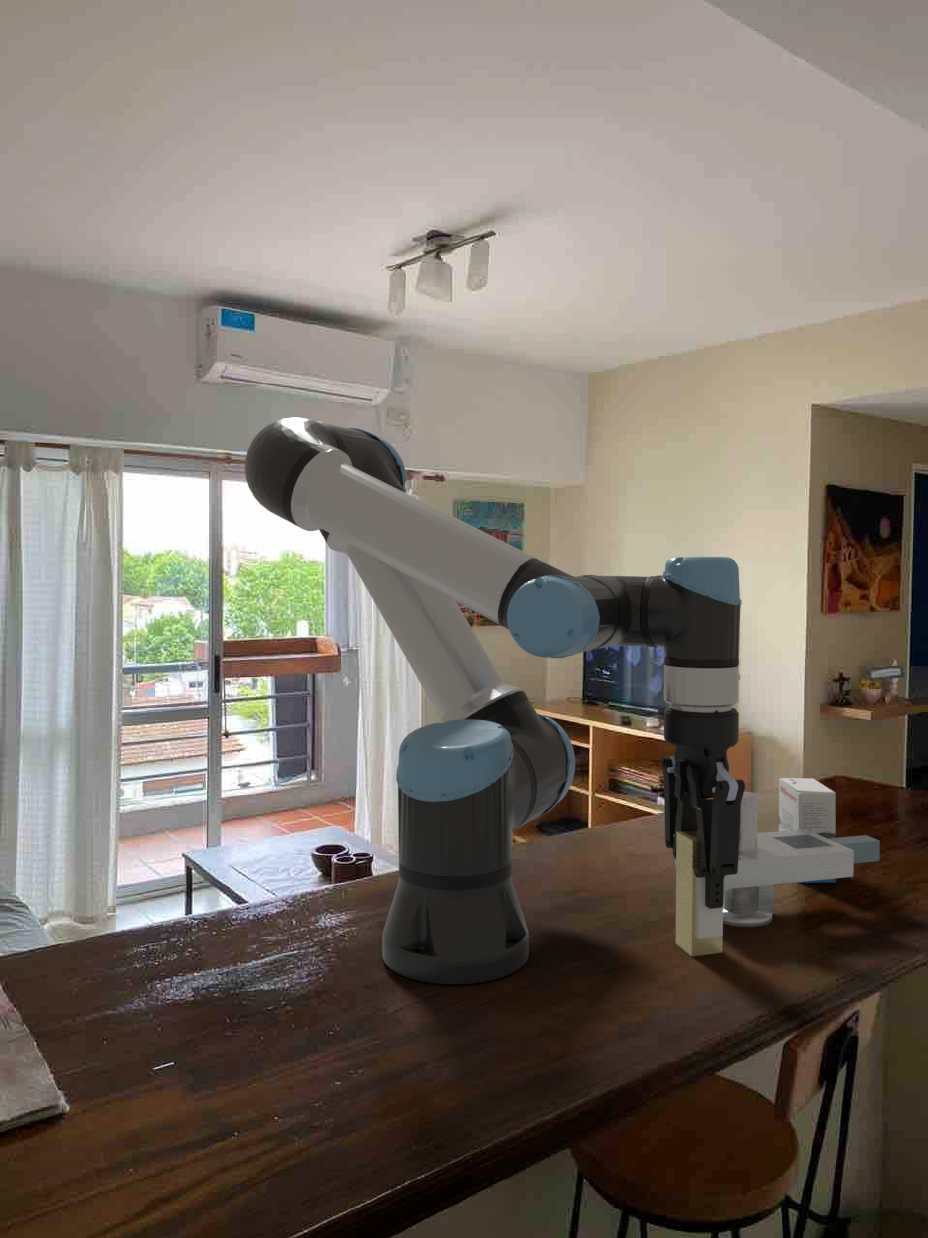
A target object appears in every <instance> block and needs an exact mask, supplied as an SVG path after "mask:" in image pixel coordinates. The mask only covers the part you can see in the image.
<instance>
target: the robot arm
mask: <svg viewBox="0 0 928 1238" xmlns="http://www.w3.org/2000/svg"><path fill="white" fill-rule="evenodd" d="M244 474H245V479H246V483H247V486H248V489H249V491H250V492H251V493H252V494H251V495H252V496H253V497H254V499H255V500H256V501H257V502H258V503H259V505H260V506H261V507H263V508H265V510H267V511H268V512H270V513H272V514H274V515H275V516H276V517H279V518H281V519H283V520H285V521H287V522H288V523H291V524H293V525H294V526H296V527H298V528H300V529H302V530H304V531H307V532H316V531H319V533H320V534H321V536H322V537H323V539H324V541H325V543H326V544H327V546H328V548H329V549H330V550H331V551H333V552H339V553H342V554H345V555H347V557H348V558H349V560H350V561H351V564H352V565H353V567H354V569H355V570H356V573H357V574H358V576H359V578H360V579H361V581H362V583H363V584H364V586H365V589H366V590H367V591H368V593H369V596H370V597H371V598H372V600H373V602H374V604H375V606H376V608H377V609H378V610H379V613H380V615H381V616H382V618H383V619H384V622H385V624H386V625H387V627H388V629H389V631H390V632H391V634H392V636H393V638H394V639H395V641H396V643H397V645H398V646H399V648H400V650H401V651H402V653H403V655H404V657H405V659H406V661H407V662H408V664H409V666H410V667H411V670H412V671H413V673H414V674H415V676H416V678H417V681H418V682H419V683H420V685H421V687H422V688H423V690H424V692H425V694H426V695H427V698H428V699H429V701H430V702H431V705H432V706H433V708H434V710H435V712H436V713H437V715H438V717H439V719H440V722H434V723H430V724H427V725H424V726H421V727H418V728H416V729H415V730H413V731H411V732H409V733H408V734H407V735H406V736H405V737H404V739H402V741H401V743H400V746H399V748H398V749H399V750H398V761H397V763H398V765H397V769H396V773H395V779H396V783H397V815H398V816H397V817H398V818H397V821H398V822H397V823H398V824H397V825H398V833H397V834H398V835H397V836H398V881H397V882H398V883H397V885H396V889H395V893H394V896H393V898H392V902H391V906H390V908H389V912H388V914H387V918H386V921H385V924H384V927H383V931H382V937H381V942H382V943H381V944H382V947H381V949H382V953H381V954H382V959H383V963H384V964H385V965H386V966H387V967H388V968H389V969H390V970H392V971H393V972H395V973H396V974H399V975H401V976H403V977H406V978H409V979H412V980H414V981H415V980H416V981H420V982H425V983H431V984H440V985H468V984H469V985H470V984H471V985H472V984H478V983H484V982H490V981H493V980H494V981H495V980H497V979H501V978H504V977H506V976H508V975H511V974H513V973H515V972H517V971H518V970H519V969H521V968H522V967H523V966H525V964H526V963H527V962H528V959H529V957H530V956H529V954H530V935H529V934H530V933H529V930H528V927H527V924H526V920H525V917H524V914H523V911H522V908H521V904H520V902H519V898H518V896H517V895H518V894H517V892H516V890H515V889H516V888H515V885H514V882H513V874H512V873H513V872H512V871H513V869H512V868H513V866H512V864H513V863H512V860H513V857H512V855H513V854H512V853H513V852H512V851H513V849H512V848H513V845H512V844H513V842H512V841H513V838H512V837H513V832H514V831H515V830H516V829H519V828H521V827H522V826H524V825H526V824H527V823H529V822H531V821H533V820H536V819H539V818H541V817H542V816H544V815H545V814H548V813H549V812H551V811H552V810H553V809H554V808H555V807H556V805H557V804H558V803H560V802H561V801H562V800H563V799H564V798H565V796H566V795H567V793H568V792H569V790H570V788H571V785H572V783H573V780H574V775H575V773H576V772H575V771H576V756H575V751H574V747H573V744H572V742H571V739H570V737H569V735H568V734H567V733H566V731H565V729H564V728H563V727H562V726H561V725H560V724H559V723H558V722H557V721H555V720H554V719H552V718H550V717H548V716H545V715H543V714H540V713H538V712H537V711H536V709H535V707H534V706H533V704H532V702H531V701H530V699H529V697H528V696H527V694H526V692H525V690H523V688H522V687H517V686H515V685H511V684H507V683H505V682H504V681H503V679H502V677H501V676H500V674H499V671H498V670H497V669H496V667H495V665H494V663H493V662H492V660H491V659H490V657H489V655H488V653H487V651H486V650H485V648H484V647H483V645H482V644H481V641H480V640H479V638H478V637H477V635H476V633H475V632H474V629H473V628H472V627H471V625H470V623H469V621H468V620H467V618H466V617H465V615H464V613H463V611H462V610H461V608H460V606H459V605H458V604H461V605H462V606H464V607H466V608H468V609H469V610H471V611H473V612H475V613H477V614H479V615H481V616H482V617H484V618H486V619H488V620H490V621H492V622H494V623H496V624H497V625H500V626H501V627H503V628H505V629H507V630H508V632H510V635H511V636H512V639H513V640H514V641H515V642H516V644H517V645H518V647H520V648H521V649H522V650H524V651H525V652H526V653H528V654H530V655H532V656H534V657H537V658H538V657H539V658H549V659H564V658H568V657H573V656H576V655H578V654H580V653H585V652H589V651H595V650H598V649H603V648H607V647H649V648H658V647H660V648H663V649H664V650H663V652H664V664H663V701H664V702H665V703H666V704H669V705H668V706H666V708H665V709H663V739H664V741H665V743H667V744H669V745H671V746H674V747H675V748H674V750H673V751H674V753H673V755H672V756H661V759H660V764H661V765H660V766H661V770H662V775H663V776H662V777H663V796H664V797H663V798H664V799H663V801H664V802H663V805H664V844H665V847H666V848H667V849H672V856H673V859H674V858H675V859H676V838H677V832H678V831H691V830H698V841H699V854H700V868H701V870H698V871H694V874H695V876H696V915H695V936H696V937H697V938H698V939H702V938H711V937H720V936H722V937H723V936H724V935H723V932H724V924H723V899H724V877H725V876H726V875H734V874H737V872H738V854H739V832H740V811H741V801H742V797H743V794H744V791H745V790H746V784H745V781H744V780H743V779H741V778H740V779H734V778H733V777H732V775H731V774H730V765H729V760H728V754H727V752H728V750H729V749H730V748H732V747H735V746H736V745H737V744H738V743H739V736H740V735H739V732H740V730H739V729H740V727H739V725H740V724H739V721H740V713H739V712H738V710H737V709H736V708H734V707H733V706H735V705H736V704H738V703H739V681H740V680H741V674H740V673H739V672H740V671H739V670H740V669H739V665H740V657H739V656H740V638H741V637H740V631H741V607H742V599H741V593H740V592H741V590H740V588H741V587H740V573H739V572H740V570H739V569H740V568H739V565H738V563H737V562H736V561H735V560H734V559H732V558H731V557H729V556H687V557H686V556H681V557H680V556H679V557H677V556H676V557H675V556H674V557H669V558H668V559H667V560H666V561H665V565H664V570H663V572H662V573H663V574H661V575H651V576H638V575H637V576H633V575H632V576H631V575H595V574H581V575H579V576H575V575H571V574H569V573H567V572H565V571H563V570H561V569H558V568H557V567H555V566H554V565H551V564H549V563H547V562H544V561H542V560H539V559H538V558H537V557H534V556H533V555H531V554H529V553H527V552H525V551H523V550H521V549H519V548H517V547H515V546H513V545H511V544H509V543H507V542H505V541H503V540H501V539H498V538H496V537H494V536H493V535H492V534H491V535H490V534H489V533H486V531H485V532H484V531H483V530H481V529H478V528H476V527H475V526H473V525H470V524H469V523H466V522H464V521H463V520H460V519H459V518H457V517H454V516H453V515H450V514H449V513H446V512H444V511H442V510H440V509H439V508H436V507H435V506H433V505H430V504H428V503H426V502H424V501H423V500H420V499H418V498H416V497H415V496H412V495H410V494H408V493H406V491H407V489H406V482H407V481H408V480H407V479H408V478H407V472H406V468H405V465H404V462H403V460H402V458H401V456H400V453H398V451H397V450H396V448H394V447H393V445H392V444H390V443H389V442H388V441H386V440H385V439H383V438H382V437H381V436H379V435H378V436H377V435H376V434H373V433H371V432H370V431H367V430H364V429H360V428H356V427H343V426H340V425H335V424H332V423H326V422H322V421H318V420H313V419H311V418H305V417H287V418H286V417H285V418H281V419H278V420H276V421H272V422H271V423H269V424H268V425H266V426H265V427H263V428H262V429H261V430H260V431H259V432H258V433H257V434H256V435H255V436H254V437H253V439H252V440H251V442H250V445H249V446H248V449H247V451H246V455H245V458H244Z"/></svg>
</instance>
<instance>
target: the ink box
mask: <svg viewBox="0 0 928 1238" xmlns="http://www.w3.org/2000/svg"><path fill="white" fill-rule="evenodd" d="M778 789H779V790H778V792H779V793H778V831H787V830H799V829H807V830H809V831H811V832H814V833H816V834H818V835H820V836H823V837H825V838H837V836H836V835H837V834H836V832H837V831H836V827H837V826H836V825H837V824H836V822H837V821H836V820H837V819H836V817H837V816H836V813H837V811H836V810H837V809H836V803H837V802H836V798H837V797H836V792H835V791H834V790H832V789H831V788H829V787H827V786H826V785H824V784H823V783H822V782H819V781H818V780H816V779H815V778H803V777H798V778H797V777H795V778H794V777H792V778H791V777H780V778H779V779H778ZM816 883H817V884H820V883H821V884H825V883H827V884H829V883H833V884H835V883H837V878H834V879H824V880H814V881H804V882H799V884H816Z"/></svg>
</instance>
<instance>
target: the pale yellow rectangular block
mask: <svg viewBox="0 0 928 1238" xmlns="http://www.w3.org/2000/svg"><path fill="white" fill-rule="evenodd" d="M675 867H676V868H675V869H676V870H675V884H676V886H675V888H676V889H675V944H676V945H677V946H678V947H680V948H681V949H682V950H683V951H685V952H686V953H687V954H688V955H689V956H691V957H698V956H705V955H706V956H707V955H714V954H722V953H723V936H720V937H711V938H702V939H698V938H697V937H696V936H695V915H696V876H695V874H694V871H698V870H701V868H700V854H699V841H698V830H691V831H678V832H677V838H676V866H675Z"/></svg>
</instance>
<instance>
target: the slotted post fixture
mask: <svg viewBox="0 0 928 1238" xmlns="http://www.w3.org/2000/svg"><path fill="white" fill-rule="evenodd" d="M758 816H759V795H758V794H757V793H754V792H751V791H745V790H744V794H743V797H742V801H741V811H740V832H739V854H738V872H737V874H734V875H726V876H725V877H724V893H723V925H727V926H731V927H738V928H759V927H763V926H764V927H765V926H767V925H769V924H771V923H772V921H773V915H774V914H775V885H781V884H790V883H792V884H793V883H800V882H804V881H814V880H824V879H834V878H836V879H842V878H843V879H844V878H853V877H854V866H855V865H854V864H860V863H871V862H873V863H874V862H880V846H881V845H880V843H881V842H880V840H879V839H876V838H874V837H871V836H869V835H866V834H864V835H863V834H862V835H854V836H853V835H851V836H843V837H836V838H825V837H823V836H820V835H818V834H816V833H814V832H811V831H809V830H807V829H799V830H787V831H779V830H778V831H777V830H776V831H765V832H758V826H759V823H758V819H759V817H758ZM673 860H674V861H673V865H674V866H675V867H676V859H675V858H674V857H673Z"/></svg>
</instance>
